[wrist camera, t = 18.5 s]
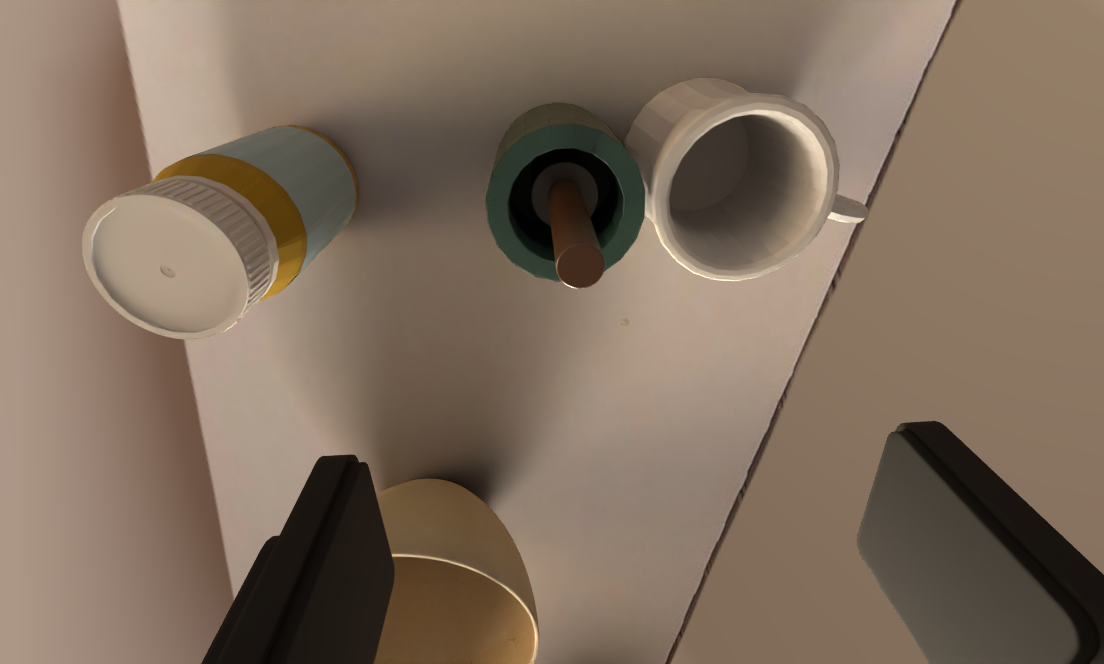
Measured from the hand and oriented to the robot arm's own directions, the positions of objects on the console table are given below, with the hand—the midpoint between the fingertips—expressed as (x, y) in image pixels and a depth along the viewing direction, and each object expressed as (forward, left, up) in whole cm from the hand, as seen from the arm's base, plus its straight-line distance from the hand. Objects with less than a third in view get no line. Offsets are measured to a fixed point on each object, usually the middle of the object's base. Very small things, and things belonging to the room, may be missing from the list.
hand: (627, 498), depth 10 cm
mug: (+10, 0, -28) cm, 30 cm away
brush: (0, 0, -28) cm, 28 cm away
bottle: (-16, 0, -28) cm, 33 cm away
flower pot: (-12, -29, -28) cm, 42 cm away
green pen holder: (0, 0, -28) cm, 28 cm away
